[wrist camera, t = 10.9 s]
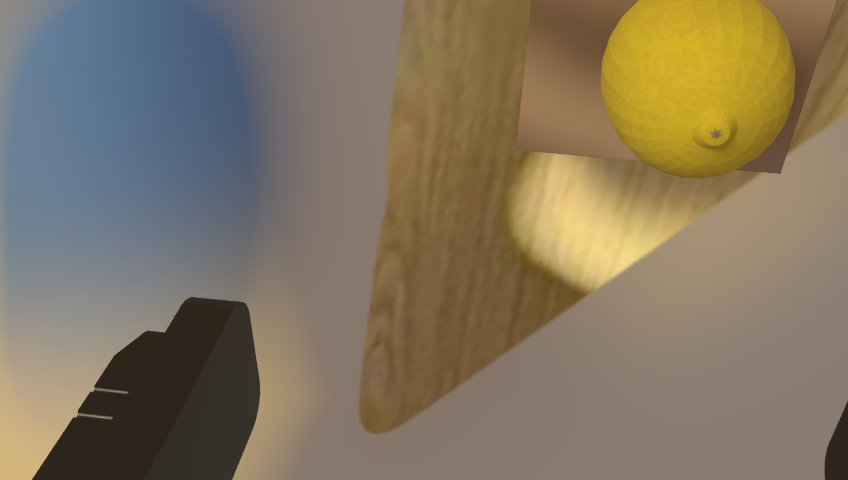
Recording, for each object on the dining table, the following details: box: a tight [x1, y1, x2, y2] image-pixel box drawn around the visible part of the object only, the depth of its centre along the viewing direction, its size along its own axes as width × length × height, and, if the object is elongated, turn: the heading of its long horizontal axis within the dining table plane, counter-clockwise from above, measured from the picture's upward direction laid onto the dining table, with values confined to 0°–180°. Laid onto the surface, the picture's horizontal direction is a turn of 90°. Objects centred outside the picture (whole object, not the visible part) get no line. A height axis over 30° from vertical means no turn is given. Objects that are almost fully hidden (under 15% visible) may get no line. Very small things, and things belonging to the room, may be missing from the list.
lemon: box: [601, 0, 795, 178], centre depth 24 cm, size 6×6×8 cm
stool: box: [516, 0, 837, 173], centre depth 31 cm, size 10×10×8 cm
